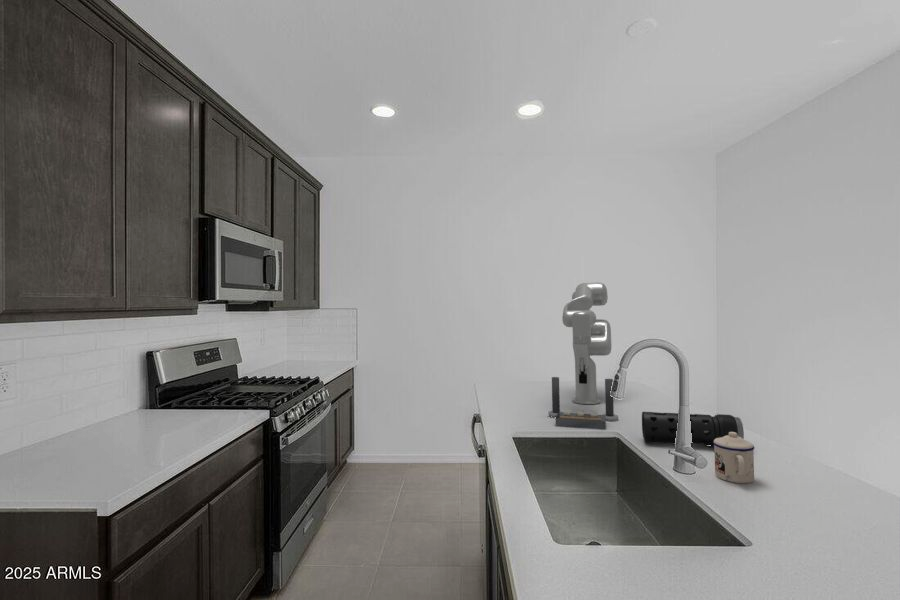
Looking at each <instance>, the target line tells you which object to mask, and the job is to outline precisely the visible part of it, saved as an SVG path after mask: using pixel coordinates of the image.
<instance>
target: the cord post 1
mask: <svg viewBox="0 0 900 600" xmlns="http://www.w3.org/2000/svg"><path fill="white" fill-rule="evenodd" d="M560 398H561V397H560V377H559V376H552V377H551V401H552V402H551V403H552V404H551V406H552V407H551V409H552V410H550V411H548V413H547V414H548V415H549V416H552V417H556V416H557V414H558V412H562V413H564V411H561V409H560V408H561V406H560V405H561V401H560V400H561V399H560ZM549 416H548V417H549ZM552 417H551V418H552Z"/></svg>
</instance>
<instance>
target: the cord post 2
mask: <svg viewBox="0 0 900 600" xmlns="http://www.w3.org/2000/svg"><path fill="white" fill-rule="evenodd" d="M612 382H613V383H614V379H613V378H604V395H605V397H604V399H605V413H603V414H601V415H606V422H618V421H619V415H618V414H615V412H614V411H615V408H614V407H615V406H614V405H615V404H614V396H613V397H611V396H610V391H611V386H612Z"/></svg>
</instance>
